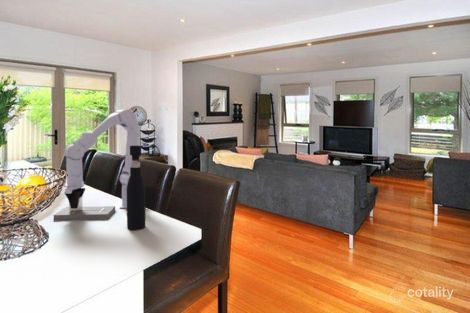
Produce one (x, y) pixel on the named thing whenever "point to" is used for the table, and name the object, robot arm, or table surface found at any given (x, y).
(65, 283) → the table surface
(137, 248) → the table surface
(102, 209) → the fader console
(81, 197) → the fader knob
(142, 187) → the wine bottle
